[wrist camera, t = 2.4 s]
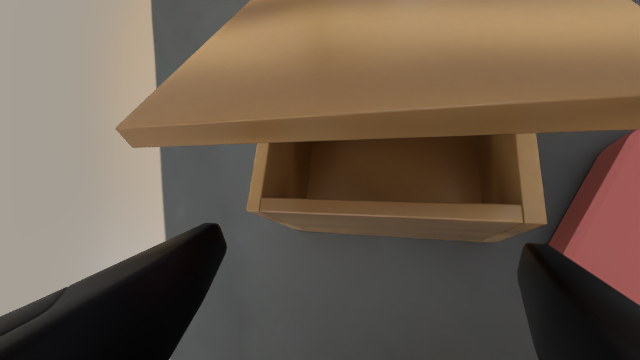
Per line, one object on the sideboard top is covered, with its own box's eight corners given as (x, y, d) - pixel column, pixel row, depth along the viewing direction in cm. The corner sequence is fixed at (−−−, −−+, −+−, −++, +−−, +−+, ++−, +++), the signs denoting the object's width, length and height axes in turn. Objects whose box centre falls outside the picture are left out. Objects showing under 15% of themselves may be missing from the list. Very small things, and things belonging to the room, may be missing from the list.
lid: (720, 127, 5) (760, 86, 5) (132, 148, 9) (113, 128, 9) (512, -62, 16) (516, -81, 15) (282, -13, 20) (278, -27, 19)
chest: (494, 243, 19) (548, 224, 11) (297, 230, 23) (245, 211, 15) (479, 42, 23) (511, -62, 16) (316, 62, 27) (282, -14, 20)
